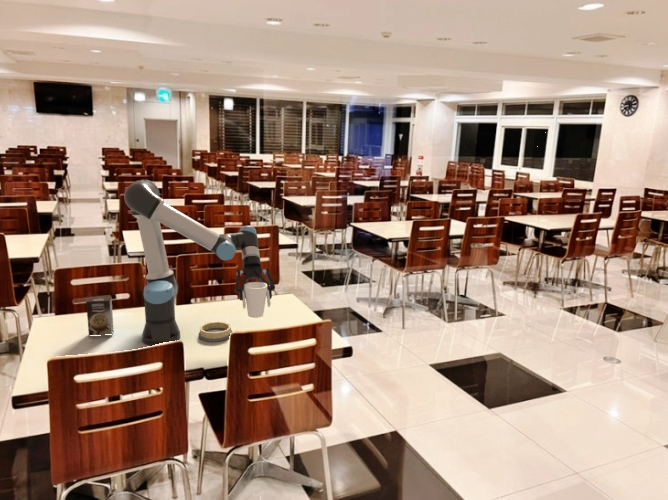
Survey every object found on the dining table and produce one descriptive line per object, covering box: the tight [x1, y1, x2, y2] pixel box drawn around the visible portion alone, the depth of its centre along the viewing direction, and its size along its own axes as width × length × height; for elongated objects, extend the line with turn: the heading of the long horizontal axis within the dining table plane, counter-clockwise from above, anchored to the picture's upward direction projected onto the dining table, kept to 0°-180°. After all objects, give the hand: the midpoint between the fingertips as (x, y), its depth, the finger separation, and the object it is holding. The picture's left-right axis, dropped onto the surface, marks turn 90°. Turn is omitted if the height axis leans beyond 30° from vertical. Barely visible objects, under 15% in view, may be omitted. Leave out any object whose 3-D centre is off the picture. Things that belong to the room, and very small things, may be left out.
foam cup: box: [243, 281, 267, 319], centre depth 214 cm, size 10×9×13 cm
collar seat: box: [198, 321, 233, 343], centre depth 220 cm, size 14×14×4 cm
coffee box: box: [85, 295, 115, 339], centre depth 216 cm, size 9×6×16 cm
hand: (257, 306), depth 212 cm, fingers closed on foam cup, 9 cm apart
